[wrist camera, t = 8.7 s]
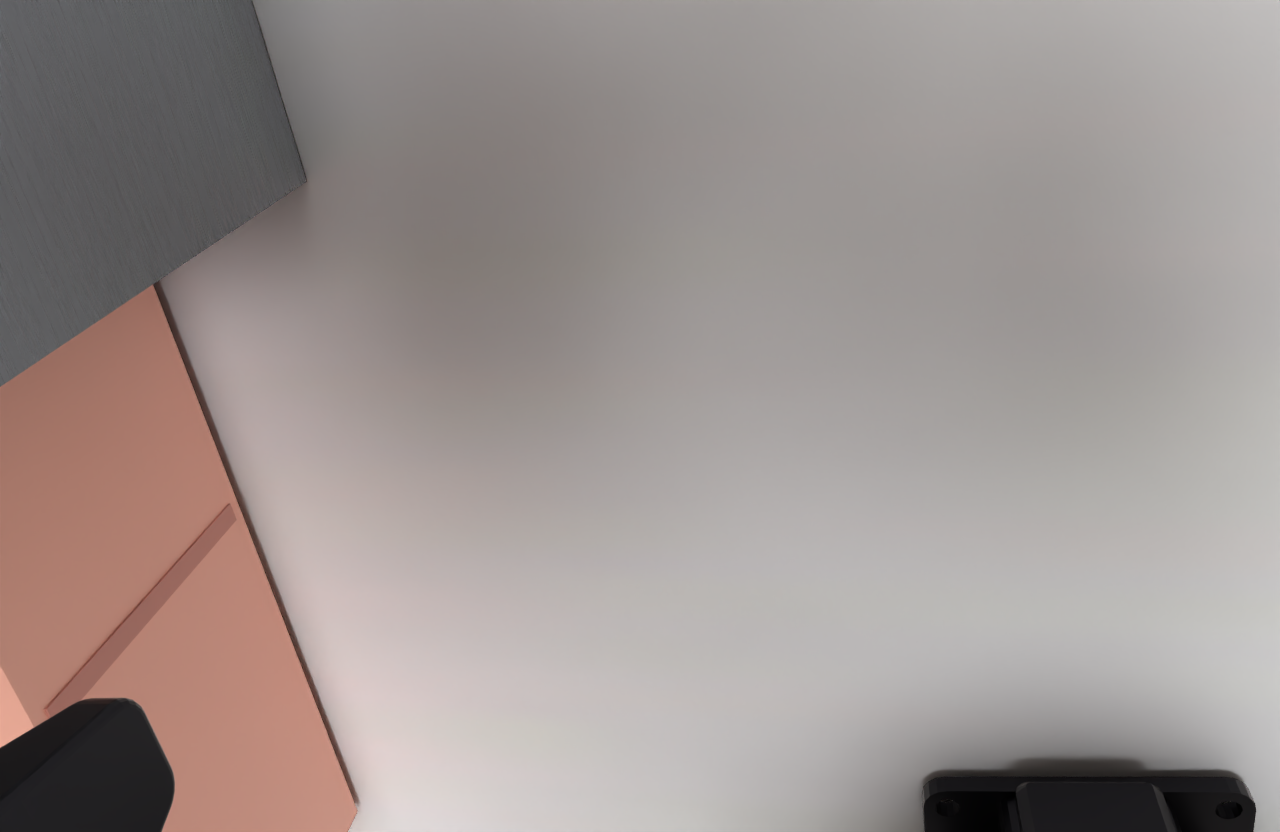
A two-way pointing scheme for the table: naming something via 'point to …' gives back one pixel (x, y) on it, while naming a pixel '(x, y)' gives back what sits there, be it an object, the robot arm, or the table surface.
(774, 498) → the table surface
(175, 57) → the dark grey block
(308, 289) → the table surface
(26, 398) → the pink ridged slab
